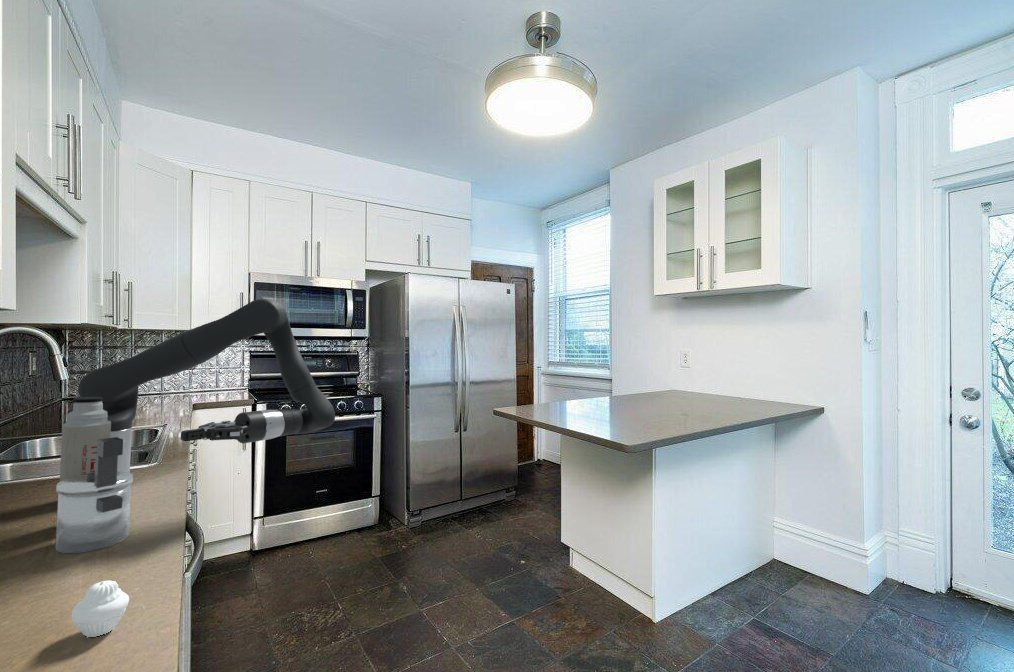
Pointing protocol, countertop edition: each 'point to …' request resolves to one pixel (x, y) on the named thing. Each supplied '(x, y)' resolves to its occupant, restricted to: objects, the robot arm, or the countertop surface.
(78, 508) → the cooker pot
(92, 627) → the muffin
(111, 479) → the cooker lid
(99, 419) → the thermos bottle
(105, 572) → the countertop surface
